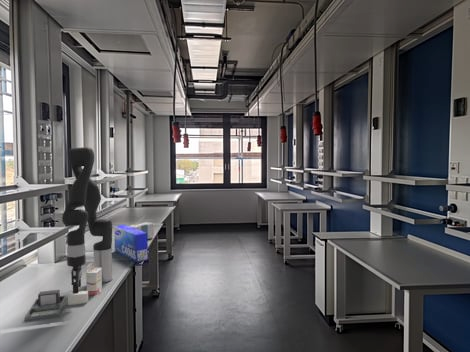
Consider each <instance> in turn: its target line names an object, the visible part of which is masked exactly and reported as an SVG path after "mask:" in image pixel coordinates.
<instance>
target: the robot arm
mask: <svg viewBox="0 0 470 352" xmlns="http://www.w3.org/2000/svg"><path fill="white" fill-rule="evenodd" d="M67 157H68V162H69V165H70V167H71V170H72V173H73V175H74V177H75V178H74V179H75V180H74V181H73V183H72V184H71V187H70V190H69V191H70V192H69V197H68V202H67V204H66V207H65V210H64V211H63V213H62V217H61V220H62V223H63V224H64V225H65V226H67V227H68V226H69V227H72V226H73V227H74V226H78V228H77V229H73V230H70V231H69V232H67V233H66V234H67V235H66V238H67V239H66V240H67V241H66V242H67V248H66V256H67V257H66V260H67V262H66V265H67V266H68V267H72V269H71V272H70V274H71V275H70V276H71V286H72V292H73V294H76V293H78V292H79V288H80V287H82V275H83V272H82V271H83V268H82V266H84V265H85V264H86V263H87V262H86V244H85V243H86V242H85V241H86V240H85V235H86V234H85V232H86V228H87V225H88V231H89V233H90V235H91V236H93V237H102V240H100V241H97V242H96V243H94V244H93V247H92V248H93V268H102V283H107V282H111V281H112V280H113V256H112V255H113V253H112V251H113V249H112V245H113V244H112V243H113V222H112V220H110V219H108V218H107V219H106V218H100V219H99V218H98V216H97V210H98V208H99V205H100V204H101V200H102V195H101V191H100V189H99V186H98V183H96V182H95V181H94V179H92V178H91V174H92V171H93V167H94V163H95V152H94V150H93V148H91V147H89V146H84V147H73V148H69V150H68V152H67ZM81 207H84V209H77V208H81Z"/></svg>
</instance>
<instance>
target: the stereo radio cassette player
mask: <svg viewBox="0 0 470 352" xmlns="http://www.w3.org/2000/svg"><path fill="white" fill-rule="evenodd" d="M146 216H147V214H146V215H144V216H143V217H142V219H144V218H145V217H146ZM139 222H141V219H139V221H137V222H136V223H135V224H133V225H128V226H129V227H132V228H135V229H137V230H140V231H143V232H145V233H147V240H150V239H151V240H152V239H153V238H154V233H155V230H154V229H155V228H154V227H155V226H154V223H153V222H141V223H139Z"/></svg>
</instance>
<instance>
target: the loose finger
mask: <svg viewBox="0 0 470 352" xmlns="http://www.w3.org/2000/svg"><path fill="white" fill-rule="evenodd" d="M88 303H89V295H88V291H87V290H81V291H79V292H78V293H76V294H73V291H72V292H68V294H67V306H73V305H81V304H88Z"/></svg>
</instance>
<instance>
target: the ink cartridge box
mask: <svg viewBox="0 0 470 352" xmlns="http://www.w3.org/2000/svg"><path fill="white" fill-rule="evenodd" d="M93 266H94V261H92V262H91V263H89V264H88V265H87V266H86V273H85V274H86V275H85V279H86V291H88V296H90V295H97V294H100V293H101V292H102V291H103V282H102V268H94V267H93Z"/></svg>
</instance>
